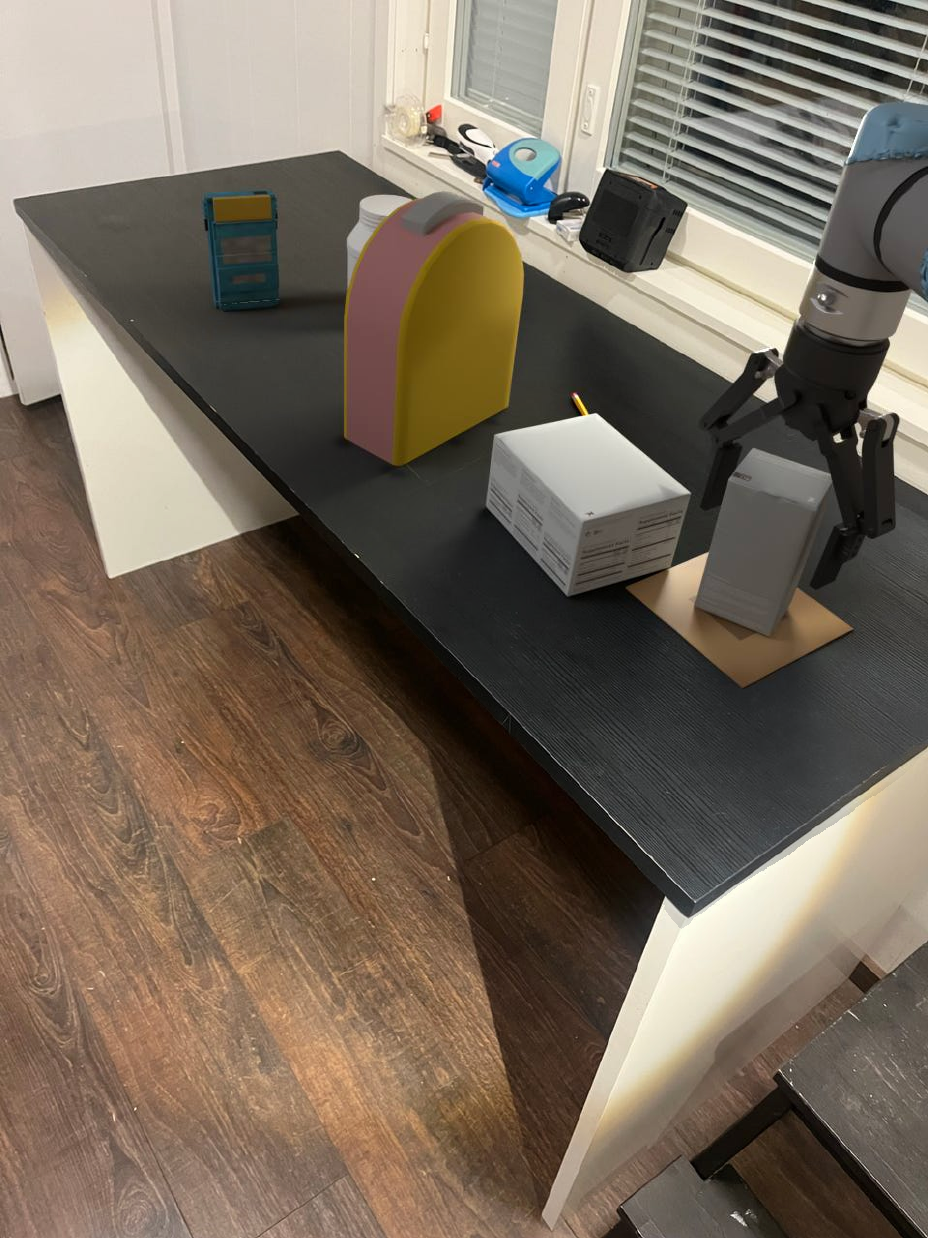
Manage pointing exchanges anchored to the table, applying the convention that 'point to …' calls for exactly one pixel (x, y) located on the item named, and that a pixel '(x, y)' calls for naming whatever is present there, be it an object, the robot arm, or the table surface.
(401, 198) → the jar
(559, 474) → the supplement box
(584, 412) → the pencil
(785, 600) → the cosmetic box
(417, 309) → the lunch box
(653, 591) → the cork mat
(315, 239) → the table surface
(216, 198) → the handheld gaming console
